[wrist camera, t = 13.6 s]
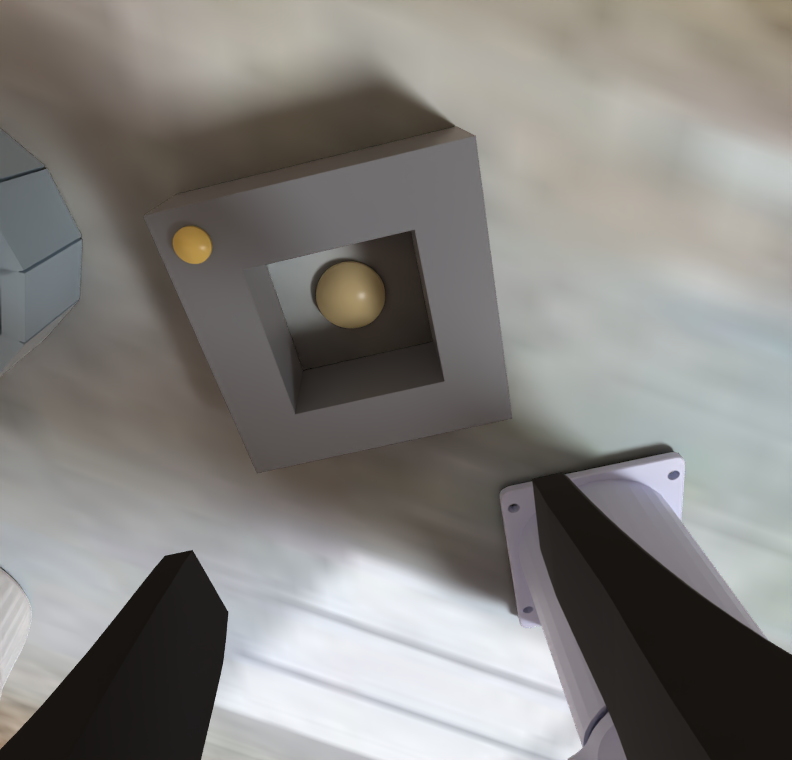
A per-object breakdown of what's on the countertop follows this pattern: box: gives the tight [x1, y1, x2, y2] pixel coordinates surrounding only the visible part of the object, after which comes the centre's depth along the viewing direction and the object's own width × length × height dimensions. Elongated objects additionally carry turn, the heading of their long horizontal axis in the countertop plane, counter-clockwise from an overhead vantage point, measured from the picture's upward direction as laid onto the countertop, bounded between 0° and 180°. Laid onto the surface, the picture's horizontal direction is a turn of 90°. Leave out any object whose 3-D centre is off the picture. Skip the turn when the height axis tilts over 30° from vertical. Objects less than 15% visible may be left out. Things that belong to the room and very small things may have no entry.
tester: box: [143, 126, 512, 473], centre depth 18 cm, size 9×9×3 cm
